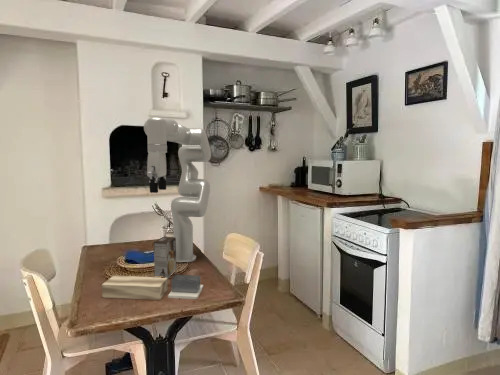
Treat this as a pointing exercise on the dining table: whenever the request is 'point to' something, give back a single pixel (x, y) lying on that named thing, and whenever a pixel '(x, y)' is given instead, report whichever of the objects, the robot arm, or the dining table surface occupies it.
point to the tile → (185, 294)
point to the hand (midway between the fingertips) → (158, 191)
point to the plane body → (135, 287)
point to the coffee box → (165, 256)
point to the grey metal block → (186, 283)
